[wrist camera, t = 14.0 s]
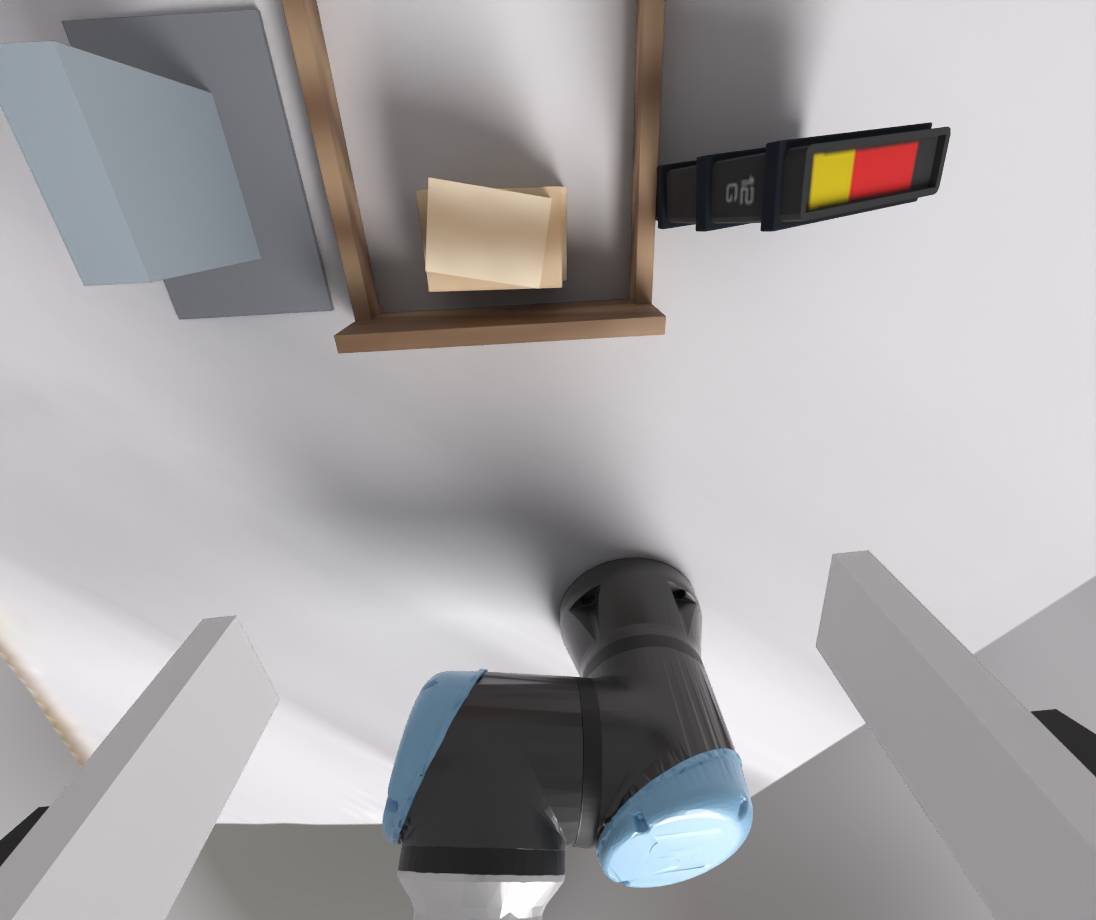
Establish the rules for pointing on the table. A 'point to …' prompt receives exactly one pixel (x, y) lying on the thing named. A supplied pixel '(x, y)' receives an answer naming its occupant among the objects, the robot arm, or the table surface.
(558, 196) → the block
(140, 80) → the pale blue chunky brick
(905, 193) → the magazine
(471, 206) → the offcut top
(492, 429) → the table surface
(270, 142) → the mat
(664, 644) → the robot arm
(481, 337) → the rack
